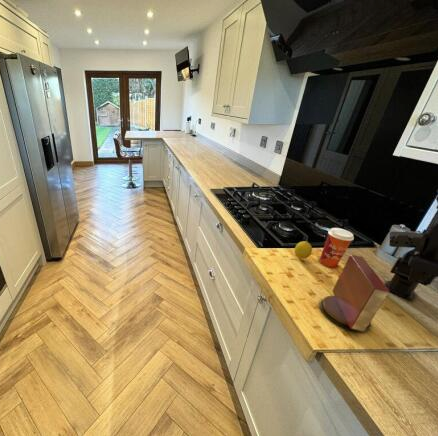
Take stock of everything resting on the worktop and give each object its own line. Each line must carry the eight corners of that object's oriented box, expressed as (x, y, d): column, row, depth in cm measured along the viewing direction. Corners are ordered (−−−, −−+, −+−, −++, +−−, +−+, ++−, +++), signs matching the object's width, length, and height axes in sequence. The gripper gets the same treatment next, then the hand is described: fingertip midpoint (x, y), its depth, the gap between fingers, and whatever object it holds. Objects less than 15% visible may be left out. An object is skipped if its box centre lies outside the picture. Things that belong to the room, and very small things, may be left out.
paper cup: (320, 267, 89) (335, 235, 83) (313, 256, 96) (325, 225, 90) (344, 271, 88) (360, 238, 82) (334, 259, 94) (349, 228, 88)
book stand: (356, 299, 73) (379, 260, 66) (381, 340, 60) (412, 296, 54) (316, 290, 76) (334, 251, 70) (331, 327, 64) (354, 284, 57)
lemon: (288, 256, 96) (294, 239, 92) (298, 253, 97) (304, 237, 94) (301, 263, 91) (307, 246, 87) (311, 261, 93) (318, 244, 89)
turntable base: (335, 296, 76) (336, 294, 75) (378, 324, 66) (379, 322, 66) (311, 306, 72) (312, 303, 71) (353, 337, 62) (354, 335, 62)
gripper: (403, 212, 69) (377, 256, 76) (398, 228, 58) (368, 278, 65) (461, 227, 62) (426, 274, 69) (468, 249, 51) (426, 303, 57)
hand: (410, 281), depth 65 cm, fingers closed
